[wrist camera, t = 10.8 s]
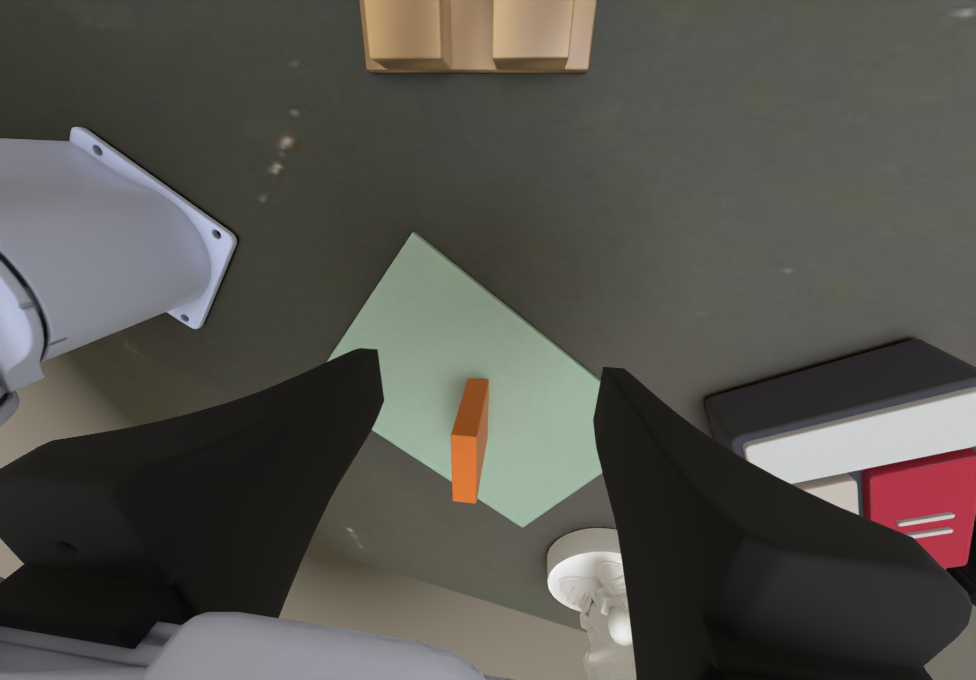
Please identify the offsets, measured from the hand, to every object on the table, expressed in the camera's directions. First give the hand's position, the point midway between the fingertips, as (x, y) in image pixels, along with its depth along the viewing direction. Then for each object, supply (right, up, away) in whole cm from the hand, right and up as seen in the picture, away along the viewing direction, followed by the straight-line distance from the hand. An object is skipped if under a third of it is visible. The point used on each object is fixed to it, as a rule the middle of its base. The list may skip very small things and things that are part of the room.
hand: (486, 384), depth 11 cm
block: (-1, -3, +13) cm, 13 cm away
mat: (-1, -3, +13) cm, 14 cm away
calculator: (+22, -6, +12) cm, 26 cm away
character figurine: (+10, -18, +19) cm, 28 cm away
